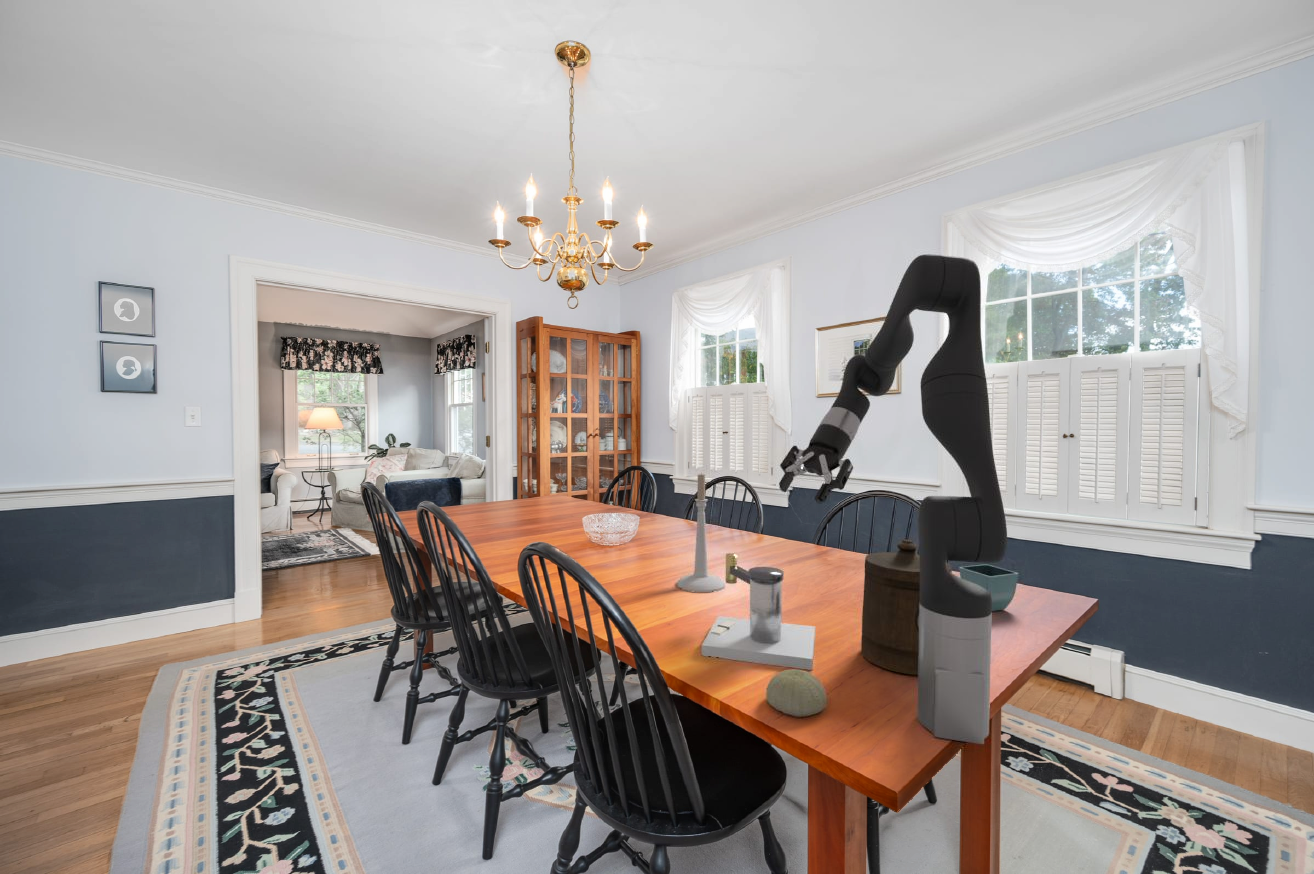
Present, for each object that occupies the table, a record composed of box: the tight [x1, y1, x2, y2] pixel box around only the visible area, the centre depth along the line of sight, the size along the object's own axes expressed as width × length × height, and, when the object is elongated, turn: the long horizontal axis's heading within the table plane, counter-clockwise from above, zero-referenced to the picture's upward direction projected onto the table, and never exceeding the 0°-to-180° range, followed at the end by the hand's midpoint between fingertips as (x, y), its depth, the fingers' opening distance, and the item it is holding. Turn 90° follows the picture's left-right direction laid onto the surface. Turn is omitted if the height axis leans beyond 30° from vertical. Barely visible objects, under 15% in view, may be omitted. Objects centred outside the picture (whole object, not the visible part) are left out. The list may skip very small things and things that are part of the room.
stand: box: [701, 615, 816, 671], centre depth 109 cm, size 16×20×2 cm
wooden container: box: [860, 539, 953, 676], centre depth 103 cm, size 15×15×22 cm
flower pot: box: [958, 563, 1019, 612], centre depth 131 cm, size 9×9×9 cm
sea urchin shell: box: [765, 668, 828, 718], centre depth 87 cm, size 9×8×8 cm
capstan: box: [725, 552, 785, 642], centre depth 113 cm, size 18×7×13 cm, turn 21°
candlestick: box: [676, 473, 726, 593], centre depth 148 cm, size 13×13×30 cm
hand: (799, 495), depth 114 cm, fingers open, 8 cm apart
